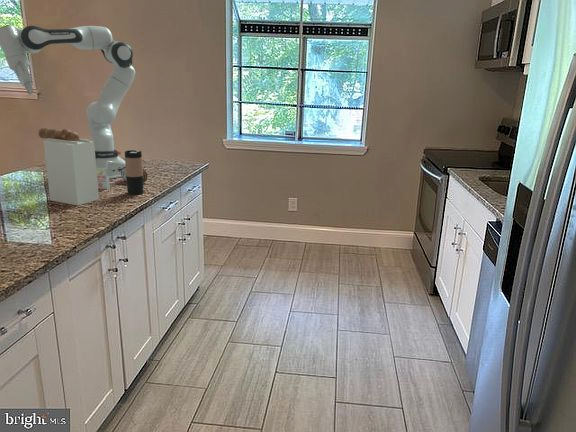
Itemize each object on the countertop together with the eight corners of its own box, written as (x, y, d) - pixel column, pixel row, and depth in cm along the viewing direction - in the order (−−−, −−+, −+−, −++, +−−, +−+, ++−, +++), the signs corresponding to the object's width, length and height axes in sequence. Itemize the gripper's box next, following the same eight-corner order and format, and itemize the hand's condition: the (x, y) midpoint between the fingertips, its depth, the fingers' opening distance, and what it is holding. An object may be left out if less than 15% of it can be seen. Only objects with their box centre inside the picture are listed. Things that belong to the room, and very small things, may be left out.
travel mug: (128, 195, 209) (125, 153, 203) (126, 191, 215) (123, 150, 209) (145, 194, 212) (143, 152, 206) (142, 190, 219) (140, 149, 213)
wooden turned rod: (38, 138, 193) (36, 126, 192) (48, 137, 198) (47, 125, 196) (72, 143, 187) (71, 130, 185) (82, 141, 191) (81, 129, 190)
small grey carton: (96, 187, 221) (94, 167, 218) (110, 187, 221) (108, 167, 218) (93, 189, 217) (91, 169, 214) (107, 189, 218) (105, 169, 215)
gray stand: (50, 200, 196) (42, 138, 188) (72, 194, 206) (65, 135, 198) (78, 205, 190) (71, 142, 182) (99, 199, 201) (93, 139, 193)
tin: (148, 183, 233) (147, 167, 230) (144, 184, 230) (143, 168, 227) (124, 180, 237) (123, 164, 235) (120, 181, 235) (119, 165, 232)
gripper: (27, 58, 199) (39, 89, 203) (25, 64, 216) (37, 93, 220) (11, 61, 196) (24, 93, 200) (11, 67, 213) (23, 96, 217)
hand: (31, 93), depth 210 cm, fingers open, 8 cm apart
